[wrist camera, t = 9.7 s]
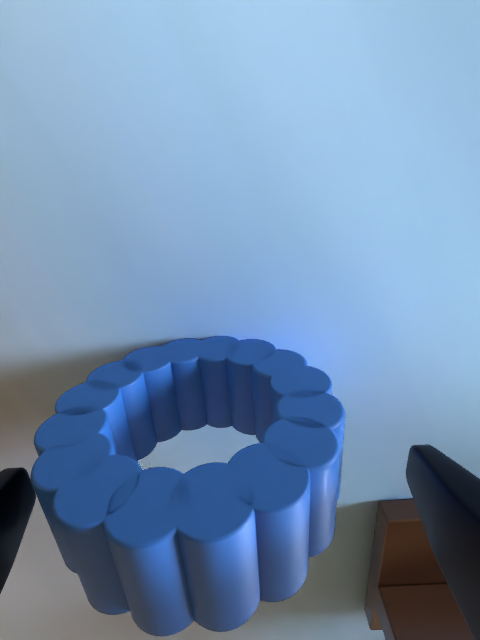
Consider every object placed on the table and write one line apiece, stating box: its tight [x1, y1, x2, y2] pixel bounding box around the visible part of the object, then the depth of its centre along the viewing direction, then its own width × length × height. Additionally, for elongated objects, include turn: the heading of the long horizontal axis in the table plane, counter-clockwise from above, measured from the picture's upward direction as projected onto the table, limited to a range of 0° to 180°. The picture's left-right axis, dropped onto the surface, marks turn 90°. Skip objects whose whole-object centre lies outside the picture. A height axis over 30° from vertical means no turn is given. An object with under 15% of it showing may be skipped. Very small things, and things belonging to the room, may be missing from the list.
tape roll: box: [31, 336, 345, 636], centre depth 9 cm, size 3×7×7 cm, turn 93°
